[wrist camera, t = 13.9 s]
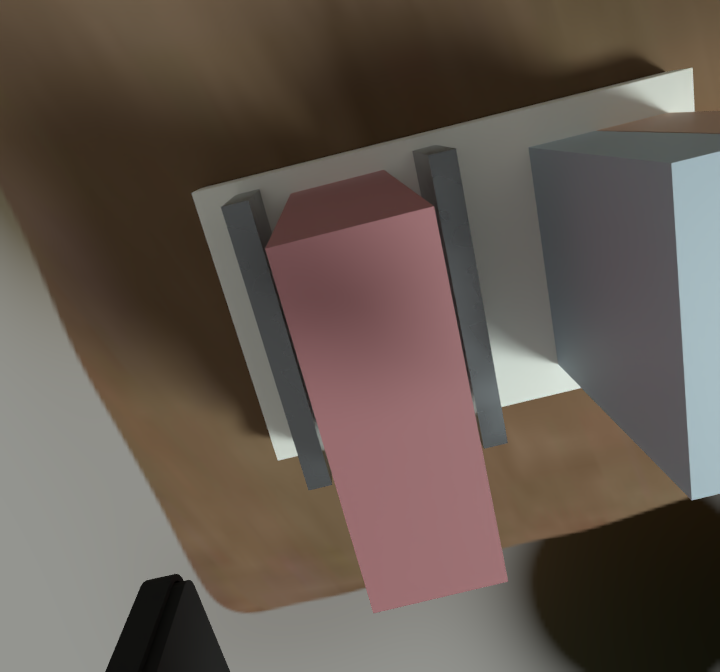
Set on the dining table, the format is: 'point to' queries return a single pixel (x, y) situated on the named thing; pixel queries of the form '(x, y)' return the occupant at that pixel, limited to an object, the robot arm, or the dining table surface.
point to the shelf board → (486, 219)
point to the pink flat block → (388, 385)
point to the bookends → (448, 199)
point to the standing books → (640, 281)
